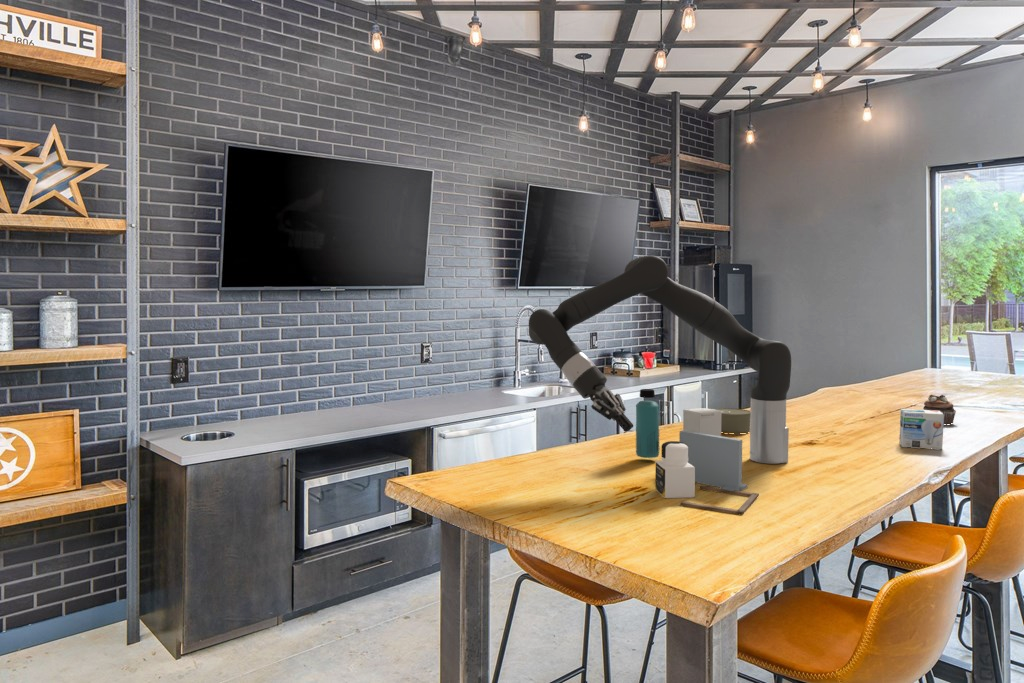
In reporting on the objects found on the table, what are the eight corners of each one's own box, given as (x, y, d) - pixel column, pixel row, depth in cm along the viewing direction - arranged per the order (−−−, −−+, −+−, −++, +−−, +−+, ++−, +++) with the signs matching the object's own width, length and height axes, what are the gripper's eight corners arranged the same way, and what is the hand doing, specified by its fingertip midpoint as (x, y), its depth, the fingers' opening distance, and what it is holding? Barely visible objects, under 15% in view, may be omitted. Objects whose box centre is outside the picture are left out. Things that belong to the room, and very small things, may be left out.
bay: (680, 505, 149) (680, 502, 149) (700, 488, 162) (700, 485, 162) (742, 515, 142) (742, 512, 142) (758, 496, 155) (758, 493, 155)
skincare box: (698, 472, 176) (698, 412, 175) (680, 467, 182) (681, 409, 181) (722, 468, 180) (723, 410, 179) (704, 463, 186) (705, 406, 185)
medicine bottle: (655, 490, 161) (655, 439, 160) (684, 489, 162) (684, 439, 161) (664, 499, 154) (664, 446, 153) (695, 497, 154) (695, 445, 154)
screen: (672, 480, 169) (673, 432, 168) (688, 475, 174) (688, 428, 173) (732, 493, 157) (733, 442, 156) (747, 487, 162) (748, 437, 161)
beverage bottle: (659, 463, 186) (660, 390, 184) (634, 462, 187) (635, 390, 186) (659, 458, 192) (659, 387, 191) (635, 457, 193) (635, 387, 192)
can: (755, 435, 223) (756, 414, 223) (718, 435, 224) (719, 414, 223) (743, 427, 235) (744, 408, 235) (708, 428, 235) (709, 408, 235)
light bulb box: (901, 447, 203) (902, 411, 202) (898, 443, 209) (899, 408, 208) (943, 450, 199) (945, 413, 198) (939, 445, 205) (940, 410, 204)
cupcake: (930, 425, 236) (931, 396, 235) (918, 420, 245) (919, 392, 245) (960, 426, 234) (961, 397, 234) (947, 421, 244) (948, 393, 243)
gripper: (581, 367, 161) (630, 423, 155) (604, 362, 172) (650, 415, 167) (561, 388, 164) (608, 444, 158) (585, 382, 175) (630, 434, 170)
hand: (630, 429), depth 163 cm, fingers closed
